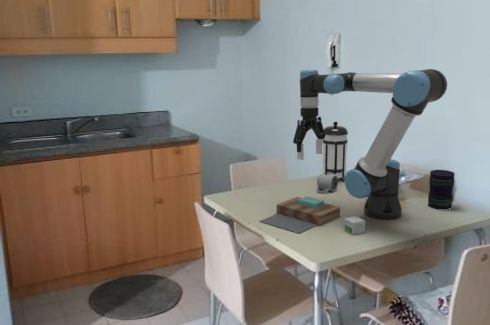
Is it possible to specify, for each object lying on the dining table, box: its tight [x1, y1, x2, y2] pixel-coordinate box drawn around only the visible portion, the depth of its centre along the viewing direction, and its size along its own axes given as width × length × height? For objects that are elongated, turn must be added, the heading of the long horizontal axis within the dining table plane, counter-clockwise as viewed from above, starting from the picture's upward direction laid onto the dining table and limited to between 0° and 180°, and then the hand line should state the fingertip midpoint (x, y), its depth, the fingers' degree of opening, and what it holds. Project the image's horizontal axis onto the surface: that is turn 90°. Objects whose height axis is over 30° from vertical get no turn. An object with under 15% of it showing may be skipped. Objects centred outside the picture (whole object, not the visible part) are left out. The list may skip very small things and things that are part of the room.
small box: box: [343, 215, 366, 236], centre depth 192 cm, size 6×6×5 cm
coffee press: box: [322, 121, 349, 183], centre depth 259 cm, size 17×16×30 cm
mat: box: [258, 213, 319, 235], centre depth 201 cm, size 20×12×1 cm, turn 47°
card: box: [298, 195, 325, 209], centre depth 211 cm, size 9×6×2 cm, turn 47°
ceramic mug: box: [316, 174, 339, 194], centre depth 243 cm, size 11×8×8 cm
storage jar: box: [427, 169, 455, 210], centre depth 217 cm, size 10×10×15 cm
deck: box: [276, 196, 341, 227], centre depth 210 cm, size 22×14×4 cm, turn 47°
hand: (310, 156), depth 218 cm, fingers open, 13 cm apart
